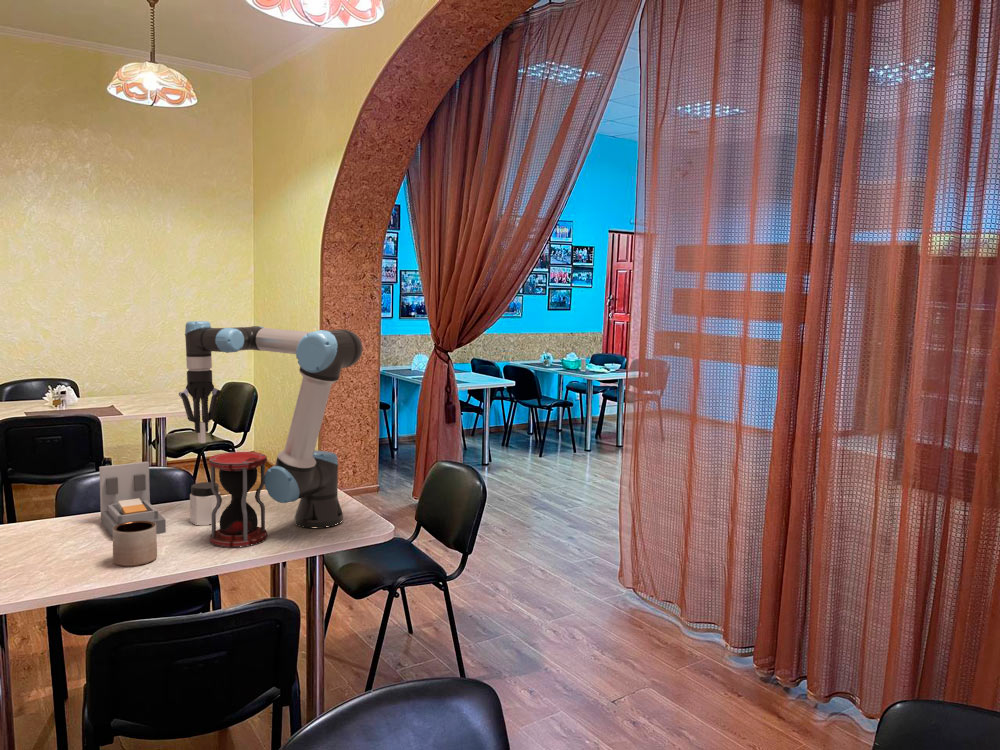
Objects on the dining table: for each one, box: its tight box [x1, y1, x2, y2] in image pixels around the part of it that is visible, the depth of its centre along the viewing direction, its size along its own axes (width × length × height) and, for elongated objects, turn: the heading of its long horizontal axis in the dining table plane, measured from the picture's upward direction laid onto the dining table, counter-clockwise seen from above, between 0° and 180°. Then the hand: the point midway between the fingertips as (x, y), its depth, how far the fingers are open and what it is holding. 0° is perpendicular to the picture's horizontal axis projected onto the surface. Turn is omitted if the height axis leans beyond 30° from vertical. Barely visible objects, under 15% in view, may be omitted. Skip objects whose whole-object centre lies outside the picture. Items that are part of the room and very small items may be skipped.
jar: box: [189, 481, 221, 526], centre depth 241 cm, size 9×8×12 cm
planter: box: [112, 521, 158, 567], centre depth 207 cm, size 11×11×10 cm
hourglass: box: [208, 451, 268, 548], centre depth 225 cm, size 16×16×25 cm
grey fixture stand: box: [98, 461, 167, 538], centre depth 234 cm, size 20×14×18 cm
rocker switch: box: [118, 498, 147, 515], centre depth 234 cm, size 10×6×2 cm, turn 38°
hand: (202, 442), depth 245 cm, fingers closed
